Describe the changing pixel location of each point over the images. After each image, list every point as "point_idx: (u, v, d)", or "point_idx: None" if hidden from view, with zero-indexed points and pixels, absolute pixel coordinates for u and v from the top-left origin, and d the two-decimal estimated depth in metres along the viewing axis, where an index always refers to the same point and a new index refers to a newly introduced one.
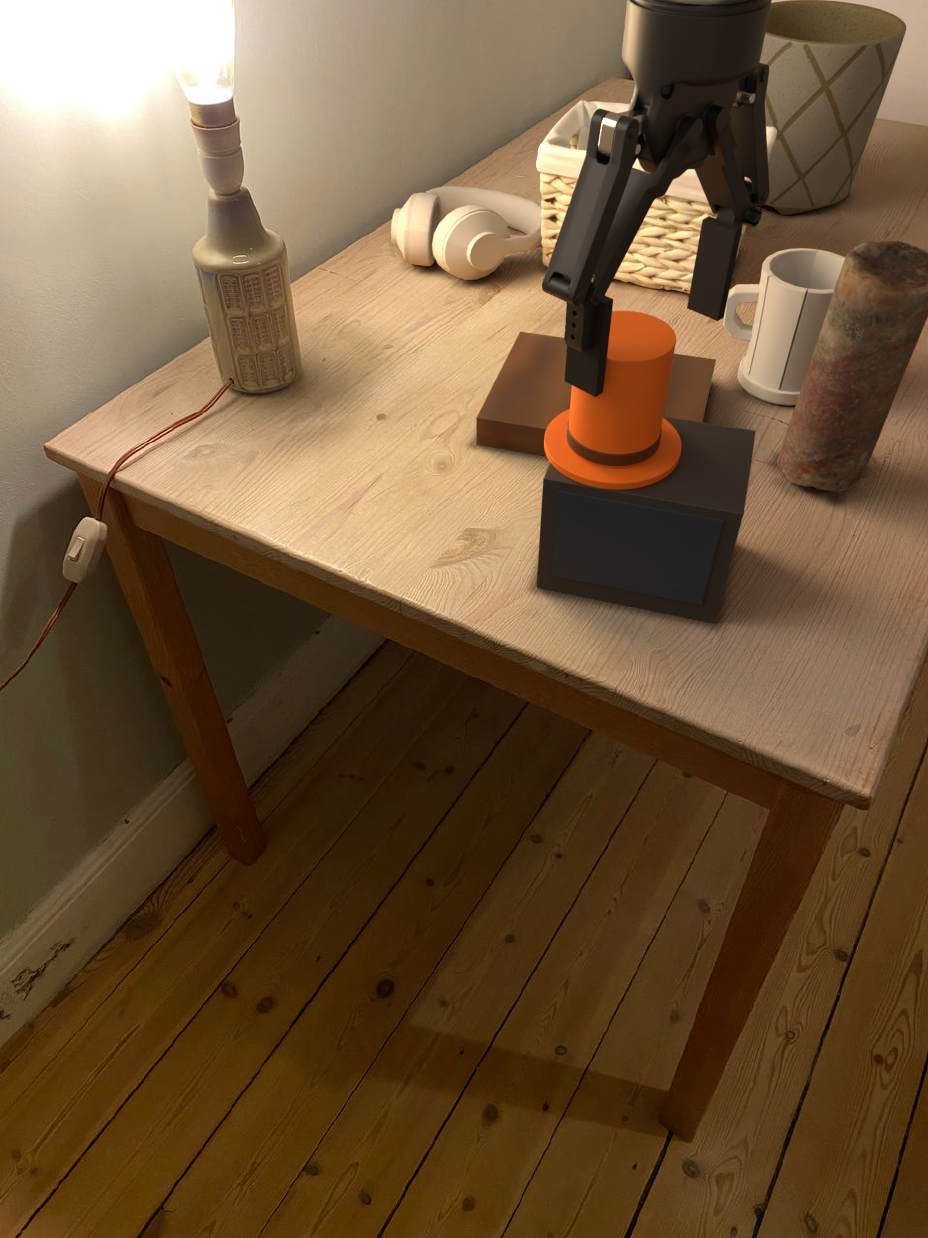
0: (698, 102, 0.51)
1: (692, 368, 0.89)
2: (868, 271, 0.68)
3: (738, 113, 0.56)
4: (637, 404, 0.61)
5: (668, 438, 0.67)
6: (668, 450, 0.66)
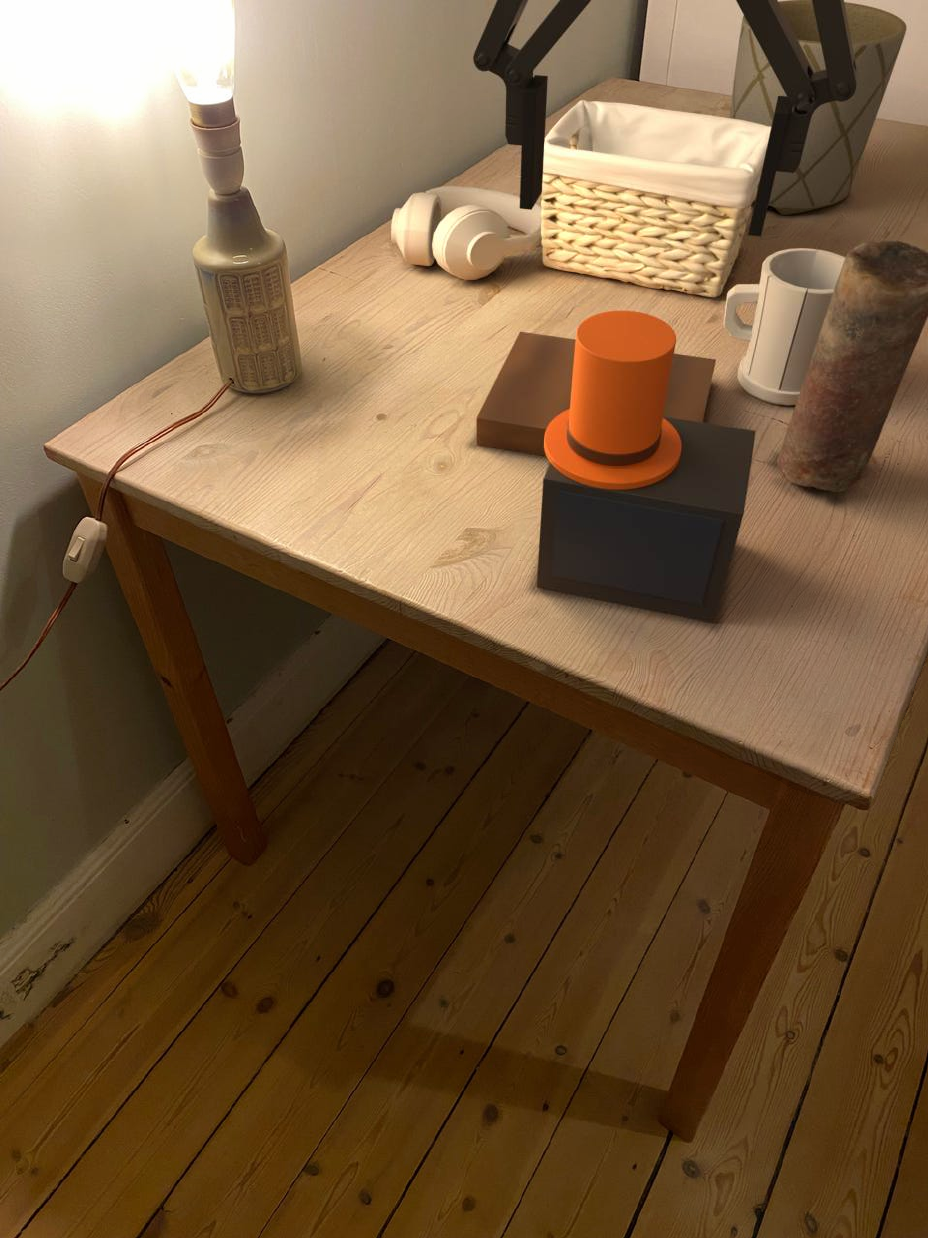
0: None
1: (692, 368, 0.89)
2: (868, 271, 0.68)
3: None
4: (637, 404, 0.61)
5: (668, 438, 0.67)
6: (668, 450, 0.66)
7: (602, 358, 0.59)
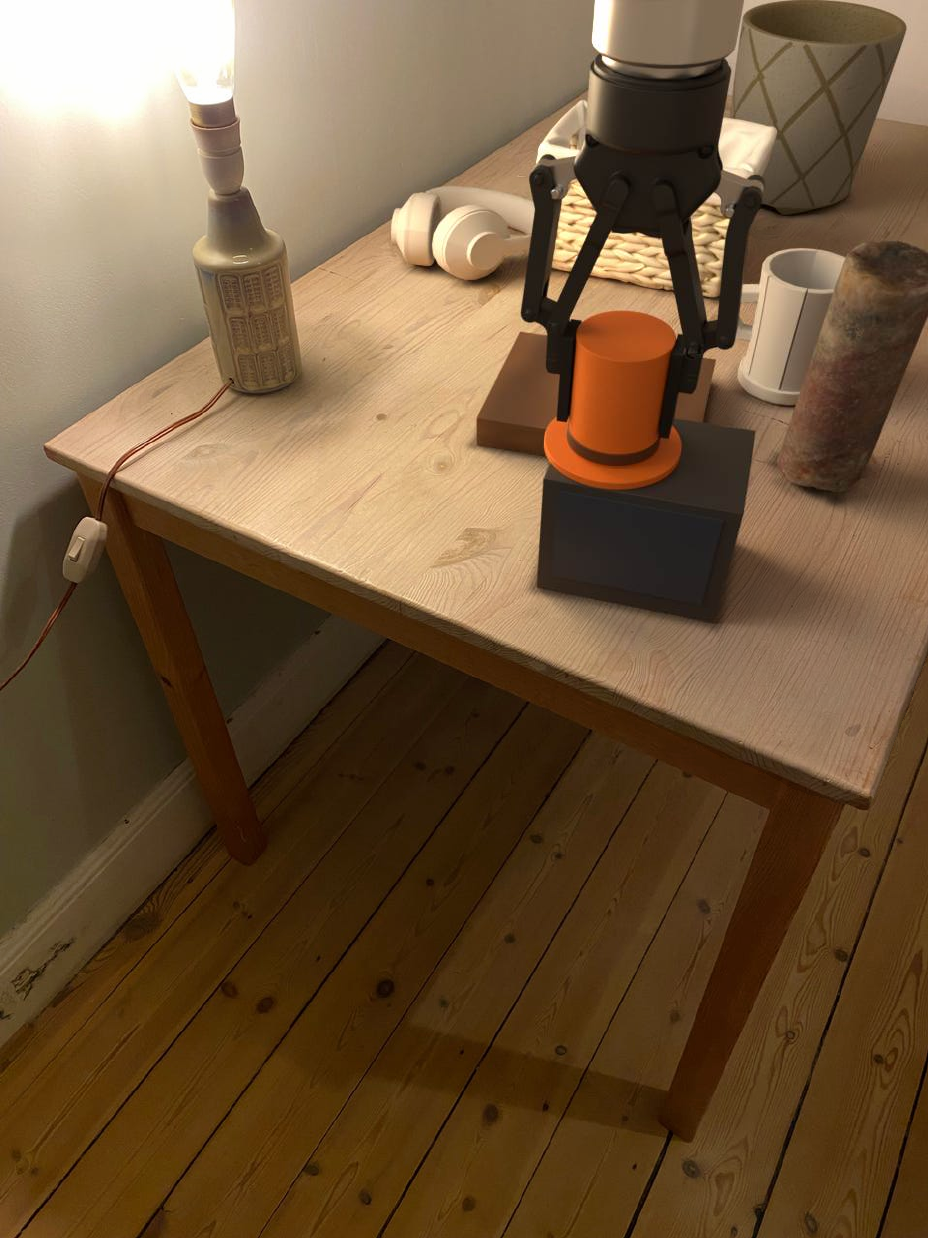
0: (642, 168, 0.52)
1: None
2: (868, 271, 0.68)
3: None
4: (637, 404, 0.61)
5: None
6: (668, 450, 0.66)
7: (602, 358, 0.59)
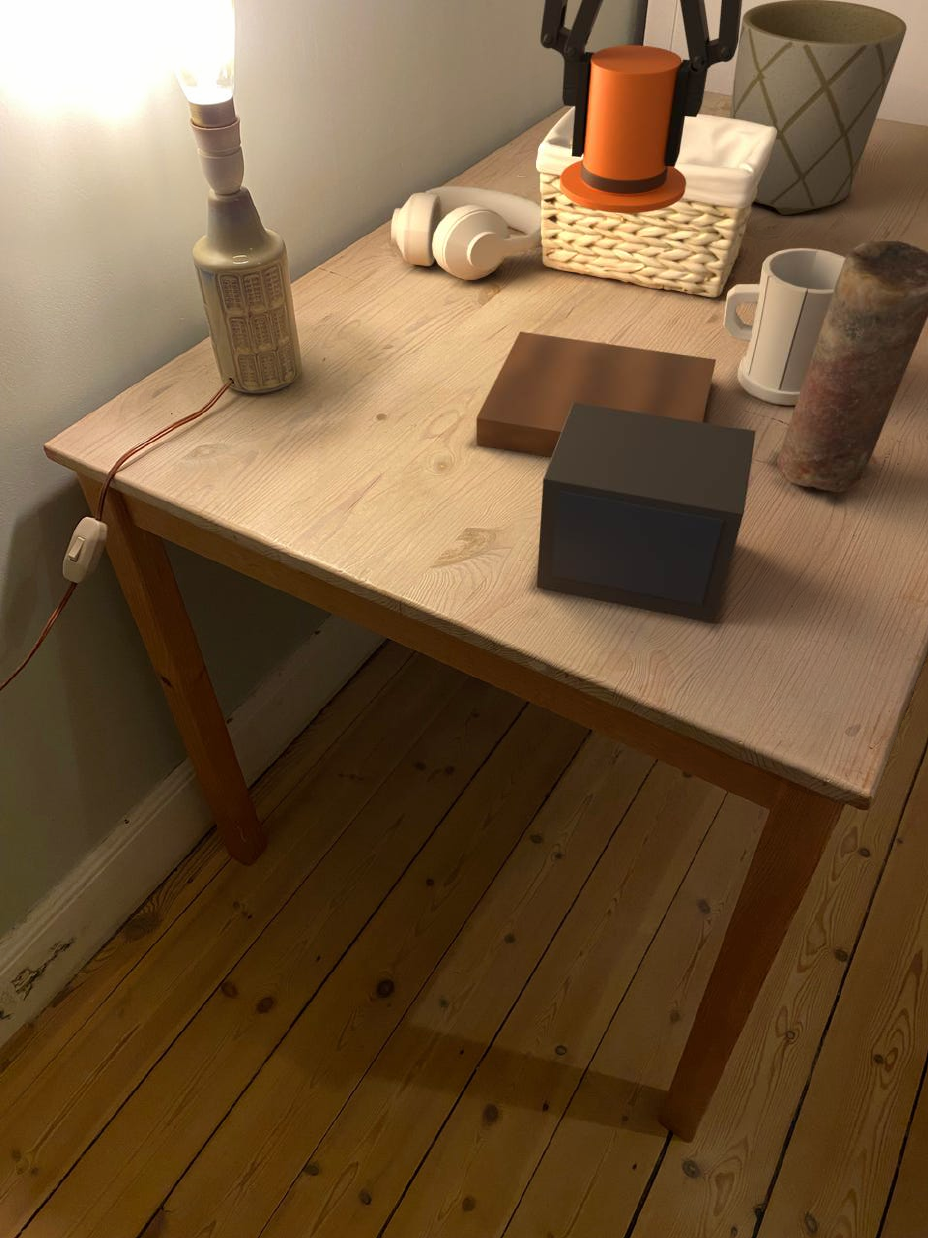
0: None
1: (692, 368, 0.89)
2: (868, 271, 0.68)
3: None
4: (646, 122, 0.67)
5: (673, 177, 0.73)
6: (674, 184, 0.72)
7: (614, 72, 0.65)
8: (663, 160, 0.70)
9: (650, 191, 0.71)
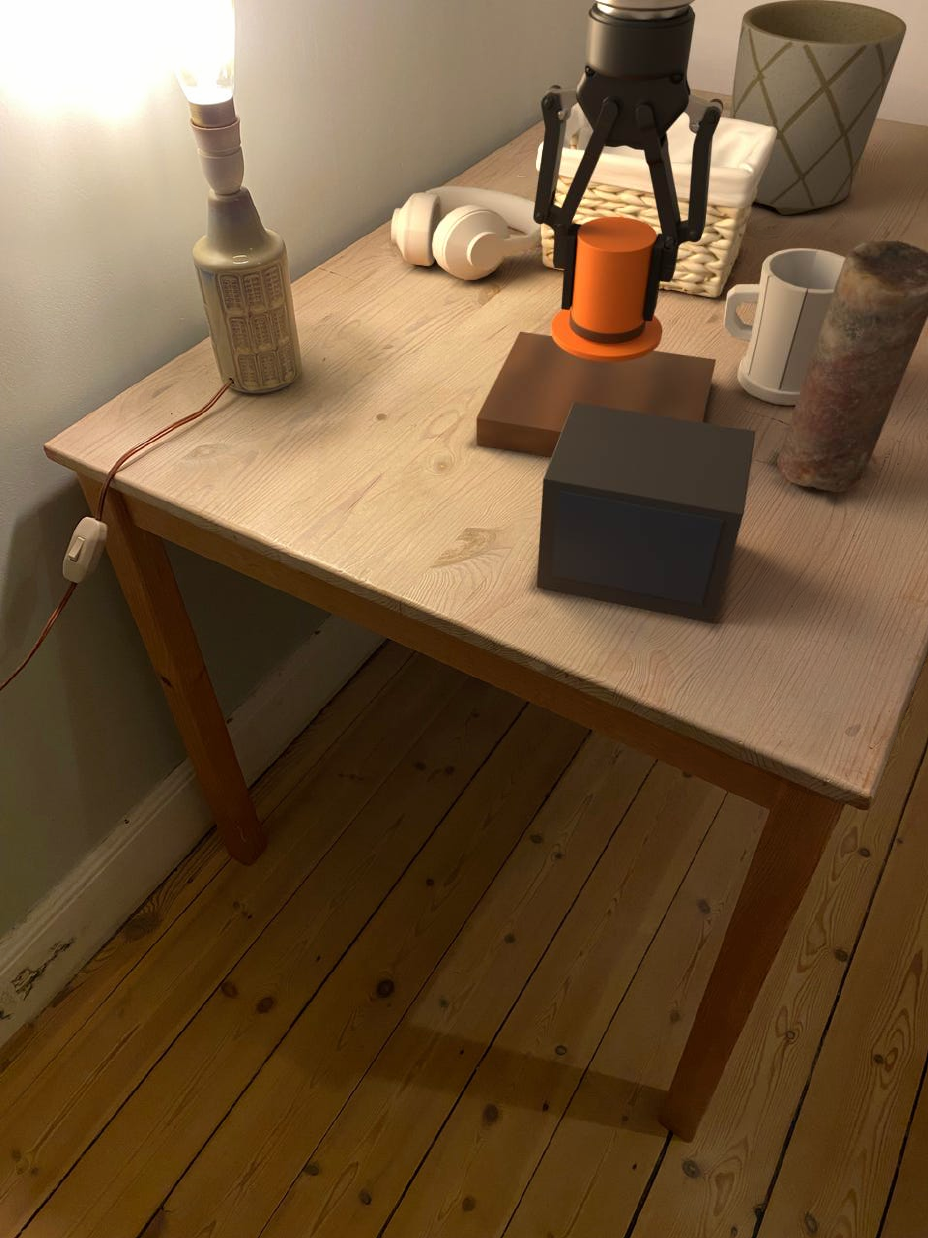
0: (628, 93, 0.67)
1: (692, 368, 0.89)
2: (868, 271, 0.68)
3: None
4: (625, 288, 0.76)
5: (651, 325, 0.82)
6: (651, 333, 0.81)
7: (597, 249, 0.74)
8: (641, 315, 0.79)
9: (630, 341, 0.80)
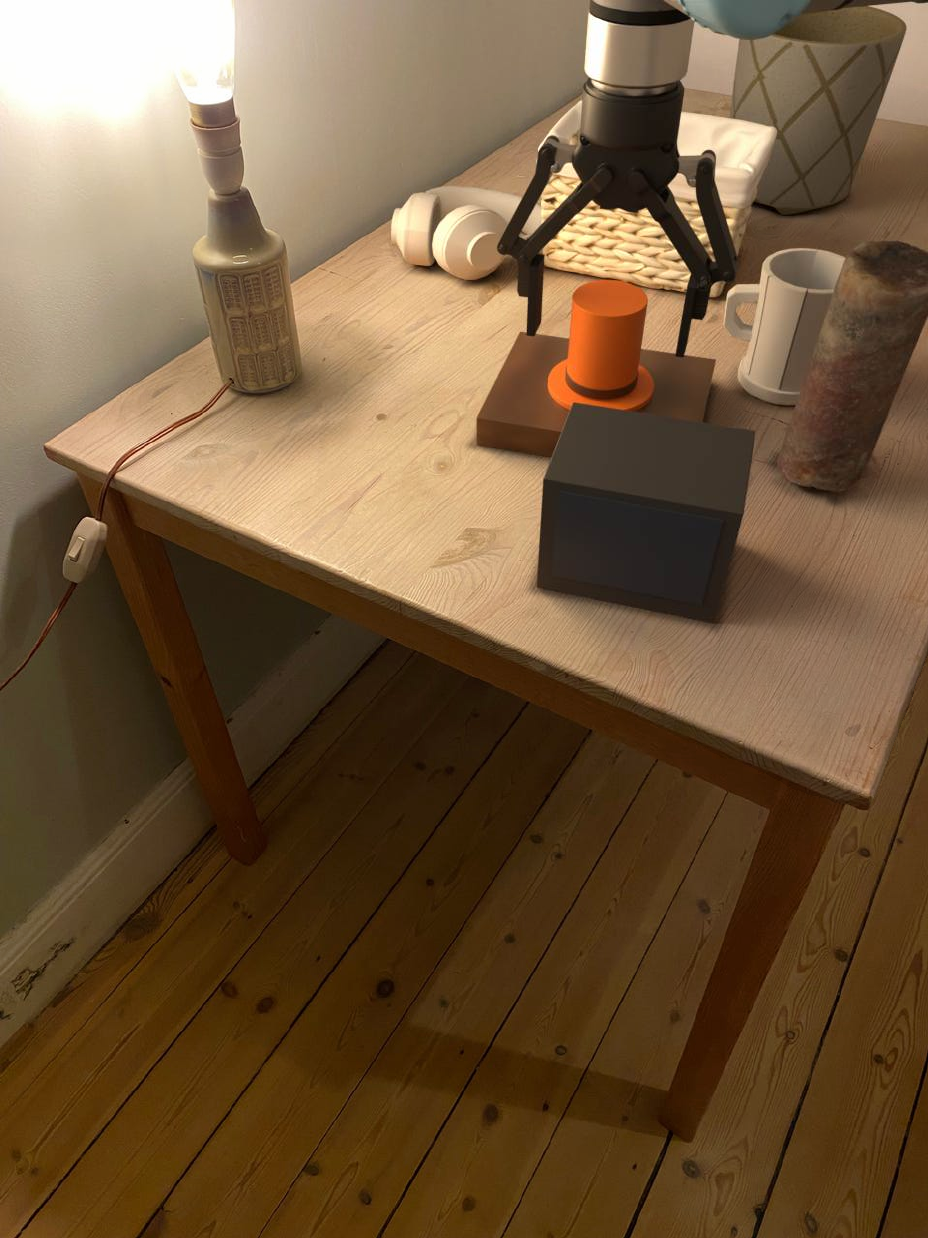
0: (621, 160, 0.71)
1: (692, 368, 0.89)
2: (868, 271, 0.68)
3: None
4: (618, 349, 0.80)
5: (643, 380, 0.87)
6: (643, 388, 0.86)
7: (591, 314, 0.79)
8: (634, 373, 0.84)
9: (623, 396, 0.84)
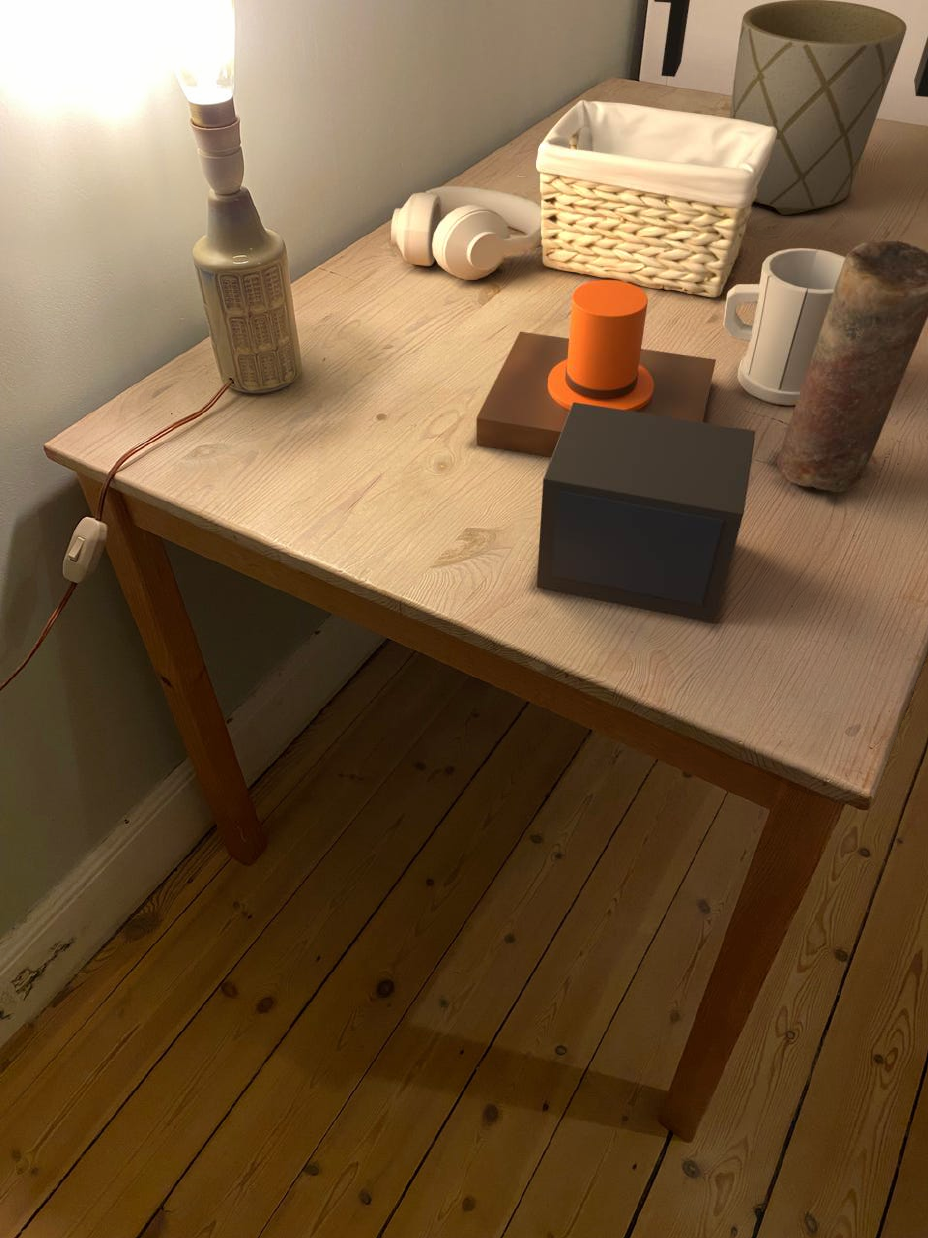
0: None
1: (692, 368, 0.89)
2: (868, 271, 0.68)
3: None
4: (618, 349, 0.80)
5: (643, 380, 0.87)
6: (643, 388, 0.86)
7: (591, 314, 0.79)
8: (634, 373, 0.84)
9: (623, 396, 0.84)
